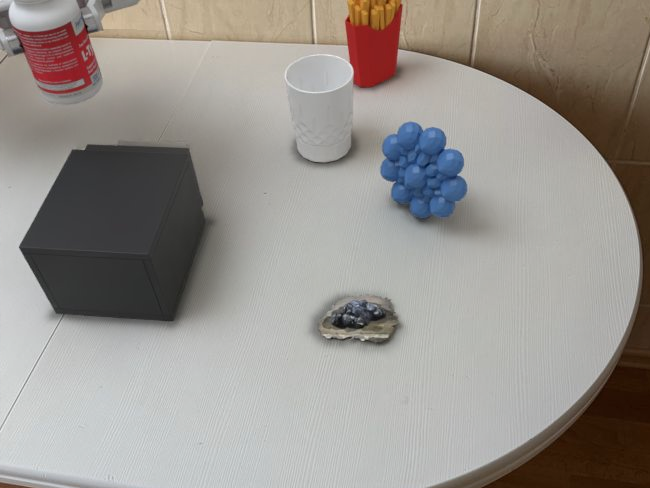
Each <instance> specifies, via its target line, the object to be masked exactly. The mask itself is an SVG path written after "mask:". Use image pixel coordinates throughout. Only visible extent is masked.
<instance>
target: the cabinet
mask: <svg viewBox="0 0 650 488" xmlns="http://www.w3.org/2000/svg"><path fill="white" fill-rule="evenodd" d="M206 223H207V222H206V219H205V214H204V210H203V206H201V203H200V199H199V195H198V191H197V187H196V183H195V179H194V176H193V172H192V168H191V164H190V160H189V156H188V154H182V153H156V152H130V151H105V150H85V149H80V148H79V149H78V148H77V149H74V148H72V149H71V151H70V153H69V154H68V157H67V158H66V160H65V162H64V163H63V166H62V167H61V169H60V171H59V172H58V175H57V176H56V177H55V180H54V182H53V184H52V186H51V187H50V189H49V191H48V193H47V195H46V196H45V198H44V200H43V202H42V204H41V206H40V207H39V210H38V211H37V214H36V215H35V216H34V218H33V220H32V222H31V224H30V226H29V227H28V229H27V231H26V233H25V234H24V236H23V238H22V240H21V242H20V243H19V246H18V249H19V250H20V252H21V254H22V256H23V257H24V260H25V261H26V263H27V265H28V267H29V268H30V270H31V272H32V274H33V275H34V277H35V280H37V282H38V284H39V286H40V288H41V289H42V291H43V293H44V295H45V296H46V298H47V300H48V302H49V303H50V306H51V308H52V309H53V310H54V312H55V314H59V315H60V314H61V315H74V316H75V315H76V316H91V317H104V318H106V317H108V318H119V319H120V318H121V319H136V320H151V321H152V320H153V321H165V322H166V321H167V322H174V319H175V316H176V313H177V310H178V307H179V305H180V301H181V297H182V295H183V293H184V289H185V287H186V283H187V280H188V277H189V274H190V271H191V268H192V265H193V263H194V260H195V256H196V253H197V250H198V247H199V244H200V241H201V238H202V235H203V232H204V229H205V226H206Z"/></svg>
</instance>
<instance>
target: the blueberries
mask: <svg viewBox="0 0 650 488" xmlns="http://www.w3.org/2000/svg"><path fill="white" fill-rule="evenodd" d="M391 301H392V298H389V297H387V296H386V297H384V298H383V297H381V296H377V295H374V294H373V295H372V294H371V295H370V294H367V295H362V294H361V295H358V296H357V295H352V296H347V297H345V298H344V297H343V298H342V299H338V300H337V301H336V303H335V304H332V305H331V307H330V309H329V310H327V311H326V313H324V315H323V316H322V317H320V318H319V320H318V322H317V328H318V329H317V331H318V332H320V335H321V336H323V337H324V338H326V339H329V340H330V339H331V338H333V339H335V338H336V339H338V340H344V339H346V338H350V339H349V340H350V341H351V340H353V339H354V338H355V339H359V340H360V341H362V342H364V341H367V340H368V341H370V342H373V343H375V344H377V343H383V342H385V341H386V340H389V337H390V336H391V335H393V332H394V330H395V327H394V326H396V325H398V323H399V322H400V321H399V319H398V316H396V315H395V314H396V313H397V311H395V309H394V308H393V309H392V308H391V307H390V306H391V305H392V302H391Z"/></svg>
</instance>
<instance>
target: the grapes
mask: <svg viewBox="0 0 650 488" xmlns="http://www.w3.org/2000/svg"><path fill="white" fill-rule="evenodd" d="M446 146H447V135H446V133H445V131H443V130H442V129H441V128H438V127H434V126H431V127H427V128H425V129H423V127H422V126H421V125H420V124H419V123H418V122H414V121H407V122H404V123H402V124H401V125H400V126H399V128H398V130H397V132H396V133H392V134H388V135H387V136H386V138H384V139H383V142H382V145H381V152H382V154H383V156H384V157H385V158H384V159H383V160H382V161H381V164H380V168H379V169H380V171H379V172H380V176H381V178H382V179H383V180H385V181H386V182H390V183H393V184H392V186H391V189H390V197H391V198H392V200H393V201H394V202H396V203H397V204H399V205H406V204H409V211H410V213H411V214H412V215H413V216H414V217H416V218H419V219H425V218H429V217H430V216H431V215H433V216H435V217H436V218H440V219H443V218H448V217H450V216H451V215H452V214H453V213H454V211H455V209H456V203H457V202H461V200H463V199H464V198H465V197H466V195H467V192H468V184H467V181H466V180H465V178H464V177H463V176H461V175H459V174H461V172H462V171H463V169H464V167H465V158H464V156H463V153H462V152H460V151H459V150H457V149H454V148H447V149H446Z"/></svg>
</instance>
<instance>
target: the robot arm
mask: <svg viewBox="0 0 650 488" xmlns="http://www.w3.org/2000/svg"><path fill="white" fill-rule="evenodd" d="M76 1H77V3H78V6H79V8H80V11H81V15H82V18H83V21H84V23H85V26H86V29H87V32H88V35H91V34H94V33H97V32H101V31H104V26H103V24H102V20H103V19H104V17H105V15H106V14H110V13H112V12H116V11H119V10H124V9H127V8H130V7H133V6H137V5H138V4H139V3H140V2H141V0H76ZM12 2H13V1H12V0H0V50H1V51H5V53H6V55H7V57H8V58H12V57H17V56H19V55H22V54H24V51H23V48H22V46H21V44H20V41H19V39H18V37H17V34H16V33H15V31H14V29H13V26H12V24H11V21H10V18H9V8H10V5H11V3H12Z"/></svg>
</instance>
